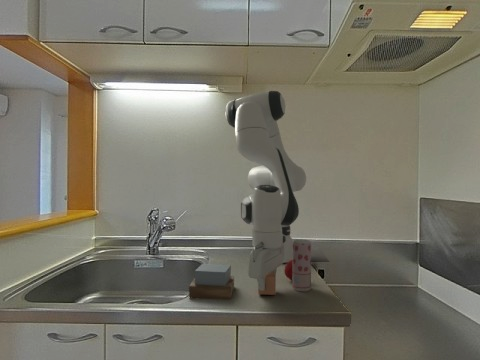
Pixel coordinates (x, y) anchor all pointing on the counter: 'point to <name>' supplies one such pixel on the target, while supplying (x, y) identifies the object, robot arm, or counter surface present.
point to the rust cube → (269, 284)
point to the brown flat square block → (212, 290)
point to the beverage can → (301, 265)
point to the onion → (289, 269)
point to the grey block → (212, 274)
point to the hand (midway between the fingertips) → (266, 286)
